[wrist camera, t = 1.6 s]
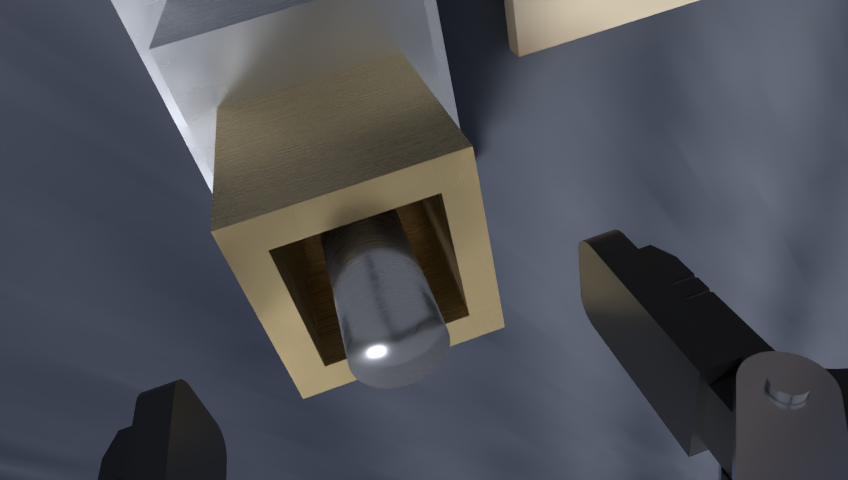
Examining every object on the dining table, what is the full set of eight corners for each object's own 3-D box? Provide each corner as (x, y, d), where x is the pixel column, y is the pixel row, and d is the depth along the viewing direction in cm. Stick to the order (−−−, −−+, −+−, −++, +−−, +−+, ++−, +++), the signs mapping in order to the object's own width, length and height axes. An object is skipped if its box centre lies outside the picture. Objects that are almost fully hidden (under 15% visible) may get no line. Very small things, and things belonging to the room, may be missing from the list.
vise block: (101, -45, 18) (-111, 168, 7) (401, -129, 19) (650, -63, 8) (248, 244, 26) (263, 578, 14) (460, 174, 27) (634, 436, 15)
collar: (216, 108, 16) (210, 231, 11) (401, 51, 16) (472, 145, 11) (284, 254, 19) (303, 398, 14) (437, 203, 19) (504, 327, 14)
